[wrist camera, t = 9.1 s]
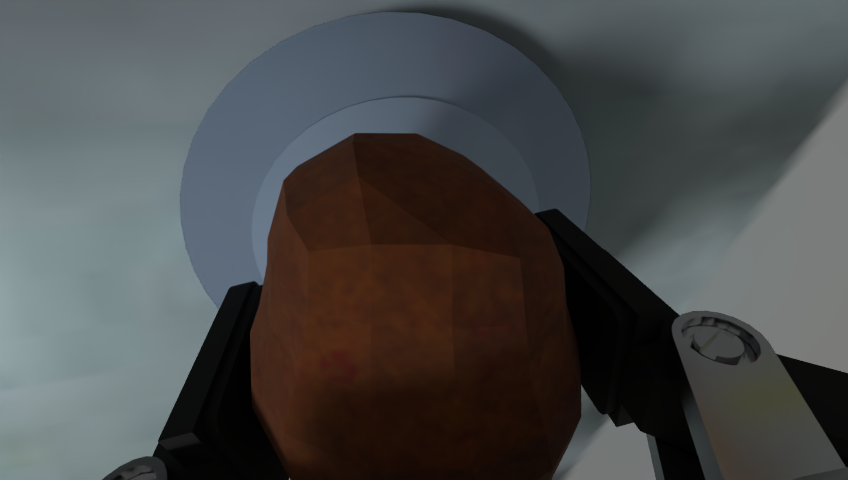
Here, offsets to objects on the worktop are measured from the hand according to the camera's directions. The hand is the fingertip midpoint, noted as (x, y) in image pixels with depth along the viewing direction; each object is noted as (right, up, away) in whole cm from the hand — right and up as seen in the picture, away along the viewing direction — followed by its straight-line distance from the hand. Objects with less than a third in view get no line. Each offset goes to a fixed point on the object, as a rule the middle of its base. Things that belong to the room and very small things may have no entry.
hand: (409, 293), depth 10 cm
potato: (0, +1, +1) cm, 1 cm away
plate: (0, +2, +3) cm, 4 cm away
